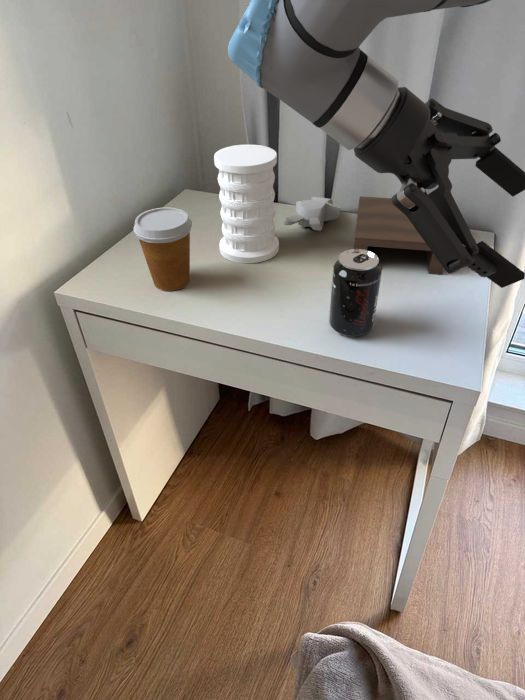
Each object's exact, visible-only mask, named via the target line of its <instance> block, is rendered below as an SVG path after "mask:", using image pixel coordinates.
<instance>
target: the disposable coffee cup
mask: <svg viewBox="0 0 525 700" xmlns="http://www.w3.org/2000/svg"><path fill="white" fill-rule="evenodd" d="M192 226H193V222H192V220H191V218H190V217H189V215H188V213H187V211H185V210H183V209H180V208H179V207H171V206H170V207H166V206H165V207H164V206H163V207H157V208H155V207H154V208H151V209H148V210H145V211H143V212H141V213H140V214H138V215H137V216H136V217H135V220H134V225H133V233H134V235H135V236H136V237H137V238H138V241H139V244H140V247H141V249H142V253H143V255H144V258H145V262H146V265H147V267H148V271H149V273H150V276H151V279H152V282H153V285H154V287H155V288H156V289H158V290H160V291H164V292H173V291H179V290H181V289H183V288H185V287H187V286H188V285H189V283H190V279H191V277H190V276H191V275H190V274H191V273H190V271H191V265H190V264H191V230H192V228H193V227H192Z"/></svg>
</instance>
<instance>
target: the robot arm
mask: <svg viewBox="0 0 525 700" xmlns="http://www.w3.org/2000/svg"><path fill="white" fill-rule="evenodd" d="M491 1H492V0H250V2H249V4H248V5H247V7H246V9H245V11H244V13H243V15H242V17H241V19H240V20H239V23H238V25H237V26H236V27H235V30H234V32H233V34H232V36H231V37H230V40H229V42H228V45H227V54H228V57H229V59H230V61H231V63H233V64H234V65H235V66H236V67H237V68H238V69H239V70H241V71H242V72H243V73H244V74H245V75H247V76H248V77H249V78H250V79H251V80H253V82H255V83H256V85H257V86H258V87H259V88H261V89H264V90H265V91H266V92H268V93H270V94H271V95H272V96H273V97H275V98H277V99H278V100H279V101H281V102H283V103H284V104H285V105H287V106H288V107H290V108H291V109H292V110H293V111H295V112H296V113H298V115H300V116H302V117H303V118H304V119H306V120H307V121H308V122H310V123H311V124H312V125H314V127H316V128H318V129H320V130H321V131H322V132H324V133H325V134H326V135H328V136H329V137H330V138H331V139H333V140H335V141H336V142H337V143H338V144H339V145H340V146H342V147H343V148H344V149H346V150H348V151H352V150H353V152H354V156H355V157H356V158H357V159H359V160H360V161H361V162H362V163H364V164H365V165H366V166H367V167H369V168H371V169H372V170H374V171H375V172H376V173H377V174H393V175H394V176H395V177H396V178H397V179H398V181H399V182H400V183H401V187H400V189H399V191H398V192H396V193H395V194H393V196H391V198H392V199H391V200H392V203H393V205H394V206H395V207H397V208H398V209H399V210H400V211H401V212H402V213H404V214H405V215H406V216H407V217H408V219H409V220H410V222H411V223H412V224H413V226H414V227H415V229H416V230H417V231H418V233H419V234H420V236H421V237H422V238H423V240H424V241H425V243H426V244H427V245H428V247H429V248H430V250H431V251H432V252H433V254H434V255H435V257H436V258H437V259H438V261H439V262H440V264H441V265H442V266H443V268H444V271H445V272H446V273H448V274H449V275H452V274H454V273H456V272H459V271H460V270H463V269H464V268H469V270H471V271H473V272H474V273H475V274H477V275H478V276H480V278H487V279H489V281H491V282H492V283H494V284H495V285H497V286H498V287H499V288H500V289H503V288H505V287H508V286H510V285H513V284H515V283H517V282H521V281H523V280H525V272H524V271H523V270H522V269H521V268H519V267H518V266H516V265H515V264H513V262H511V261H509V260H508V259H507V258H506V257H505V256H503V255H502V254H500V253H499V252H498V251H496V250H495V249H494V248H493V247H491V246H489V244H487V243H486V242H485V241H483V240H481V241H480V242H478V243H477V241H476V240H475V238H474V235H473V234H472V232H471V229H470V227H469V226H468V224H467V221H466V220H465V218H464V215H463V214H462V212H461V210H460V208H459V206H458V204H457V202H456V200H455V197H454V196H453V193H452V190H453V184H452V182H451V180H450V177H449V175H450V165H451V163H452V160H476V159H478V158H479V159H478V160H476V161H475V167H476V168H477V169H478V170H479V171H481V173H483V174H484V175H486V176H487V177H488V178H489V179H490V180H492V181H493V182H494V183H495V184H496V185H498V186H499V187H500V188H501V189H503V190H504V191H505V192H506V193H507V194H509V195H510V196H511V197H512V198H513V197H515V196H517V195H519V194H520V193H522V192H524V191H525V171H524V170H523V169H522V168H521V167H520V166H518V165H517V164H516V163H515V162H513V160H512V159H510V158H509V157H508V156H507V155H506V154H504V153H503V152H502V151H500V149H498V148H497V147H496V146H497V145H498V144H500V143H501V141H502V139H501V135H500V134H499V133H497V132H494V133H493V131H494V130H493V126H492V125H491V124H490V123H488V122H486V121H484V120H481V119H478V118H476V117H473V116H469V115H467V114H464V113H461V112H458V111H455V110H454V109H453V110H452V109H450V108H447V107H445V106H444V105H443V104H441V103H440V102H438V101H437V100H435V99H434V98H429V99H428V100H427V101H426V102H424V101H423V100H422V99H421V98H419V97H418V96H417V95H416V94H414V93H413V91H411V90H410V89H409V88H407V87H406V86H400V87H399V80H398V79H397V77H396V76H394V75H393V74H391V72H389V71H388V70H387V69H385V68H384V67H383V66H382V65H380V64H379V63H378V62H377V61H375V60H374V58H373V59H372V57H370V56H369V55H368V54H367V53H365V52H364V51H363V50H362V49H361V48H360V46H361V45H362V44H363V43H364V42H365V40H366V39H367V38H368V36H370V34H372V32H373V31H374V30H375V29H376V28H377V26H378V25H379V24H380V23H382V22H383V21H384V20H386V19H387V18H395V17H401V16H406V15H407V16H408V15H414V14H420V13H428V12H431V11H435V10H436V11H437V10H444V9H450V8H469V7H474V6H479V5H483V4H486V3H489V2H491ZM491 133H493V134H491ZM490 134H491V135H490ZM436 187H437V188H436ZM432 189H434V190H432ZM427 190H432V191H431V192H429V193H427Z"/></svg>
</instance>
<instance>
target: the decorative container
mask: <svg viewBox="0 0 525 700" xmlns="http://www.w3.org/2000/svg"><path fill="white" fill-rule="evenodd" d="M213 163H214V167H215V168H217V169H218V175H217V182H218V186H219V188H220V190H219V194H218V198H219V202H220V204H221V207H220V211H219V212H220V213H219V214H220V218H221V220H222V225H221V232H222V235H223V237H222V238H220V241H219V243H218V244H219V253H220V254H221V256H222V257H224V259H226V260H228V261H230V262H234V263H236V264H237V263H239V264H257V263H263V262H265V261H269V260H270V259H272V258H274V257H275V256H276V255H277V254H278V252H279V250H280V241H279V238H278V237H277V236H276V235H275V231H276V225H275V221H274V218H275V217H276V209H275V205H274V201H275V198H276V197H275V196H276V193H275V188H274V184H275V179H276V175H275V172H274V167H275V166H276V165H277V163H278V153H277V151H276V150H275V149H273V148H271V147H269V146H265V145H260V144H247V143H246V144H235V145H229V146H226V147H223V148H220V149H219V150H217V151H216V152H214V155H213Z"/></svg>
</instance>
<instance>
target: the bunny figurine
mask: <svg viewBox="0 0 525 700" xmlns="http://www.w3.org/2000/svg"><path fill="white" fill-rule="evenodd" d="M295 213H297V214H296V215H290V216H287V217H285V219H284V222H283V225H284V226H292V225H294V224H297V225H298V226H301V228H303V229H306V228H311V229H312V230H314V231H322V230H323V226H324V223H325V222H327V221H332V220H338V219H339V218H340V214H341V207H340V206H337V205H334V201H333V199H332V198H327V197H321V196H313V195H312V196H311V199H303V200H298V201H296V202H295Z"/></svg>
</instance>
